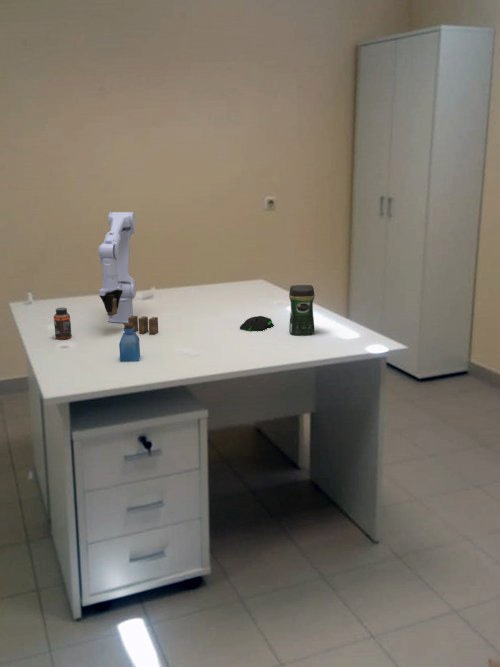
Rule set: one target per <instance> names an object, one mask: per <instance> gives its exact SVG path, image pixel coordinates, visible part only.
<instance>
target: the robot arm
mask: <svg viewBox="0 0 500 667" xmlns="http://www.w3.org/2000/svg"><path fill="white" fill-rule="evenodd" d="M107 219H108V220H107V221H108V226H109V227H110V231H108V232H106V234H105V237H104V239H103V243H101V244H99V246H98V257H99V263H100V264H101V278H102V287H101V288H100V289H99V290H98V296H99V298H100V299H101V300H102V303H103V305H104V308H105V311H106V313H107V312H112V309H113V299H114V298H116V301H117V314H115V315H113V316H108V321H107V322H108V323H119V324H120V323H121V324H126V323H128V318H129V317H131V316H134V307H133V306H134V305H133V303H134V302H133V299H135V298H136V296H137V286H136V281H135V279H134V278H133V277H131V276H130V248H131V246H130V244H131V236H132V235H133V234H135V232H136V215H135V213H134V212H133V211H110V212H109V213H108V216H107Z"/></svg>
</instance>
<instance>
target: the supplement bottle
mask: <svg viewBox="0 0 500 667" xmlns="http://www.w3.org/2000/svg"><path fill="white" fill-rule="evenodd" d="M53 323H54V324H53V326H54V337H55V338H56V339H57V340H63V341H64V340H69V339H70V338H72V326H71V325H72V324H71V315H70V313H68V308H67V307H57V308H55V314H54V315H53Z"/></svg>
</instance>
